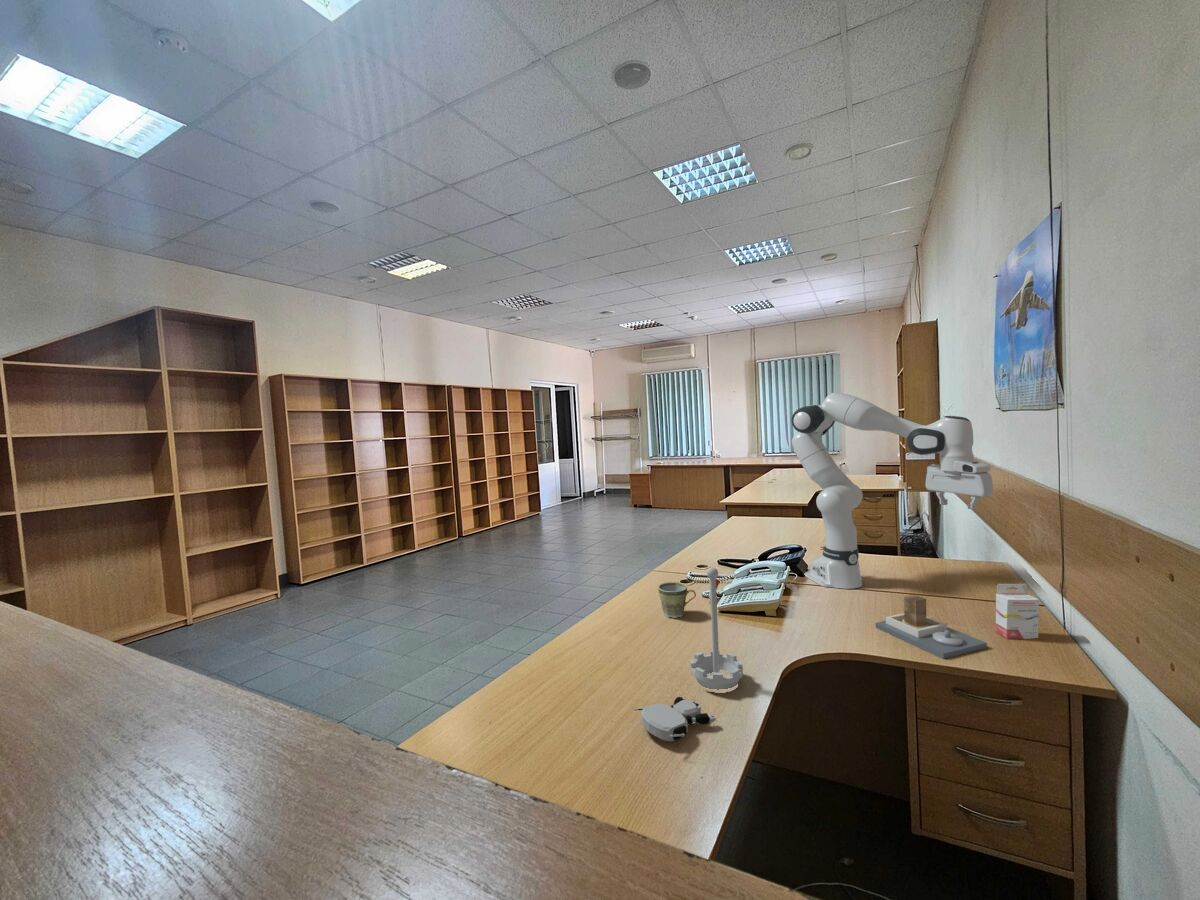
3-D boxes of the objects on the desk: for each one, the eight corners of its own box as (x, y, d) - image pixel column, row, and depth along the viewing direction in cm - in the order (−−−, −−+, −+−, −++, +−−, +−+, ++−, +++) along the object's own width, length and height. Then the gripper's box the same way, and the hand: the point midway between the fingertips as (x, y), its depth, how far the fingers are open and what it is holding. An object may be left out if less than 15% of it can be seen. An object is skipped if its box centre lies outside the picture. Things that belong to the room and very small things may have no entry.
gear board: (875, 627, 153) (875, 614, 153) (915, 618, 158) (914, 605, 158) (943, 659, 132) (943, 643, 132) (986, 648, 137) (986, 632, 137)
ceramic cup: (656, 619, 169) (654, 590, 168) (663, 608, 178) (662, 581, 177) (693, 623, 164) (692, 593, 163) (699, 611, 173) (698, 583, 172)
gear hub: (896, 624, 151) (895, 595, 151) (913, 620, 153) (913, 592, 153) (917, 633, 144) (916, 603, 144) (935, 629, 147) (934, 599, 146)
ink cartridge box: (1007, 639, 141) (1007, 589, 140) (995, 632, 146) (994, 583, 145) (1039, 639, 140) (1039, 588, 139) (1026, 632, 145) (1026, 582, 144)
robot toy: (680, 707, 118) (631, 726, 110) (681, 688, 118) (631, 706, 110) (719, 732, 108) (668, 755, 100) (719, 711, 108) (668, 733, 100)
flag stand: (734, 701, 118) (729, 578, 116) (683, 688, 125) (678, 571, 123) (749, 675, 129) (745, 563, 127) (701, 665, 136) (697, 558, 134)
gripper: (920, 463, 171) (921, 503, 172) (981, 468, 151) (981, 512, 152) (934, 462, 173) (934, 501, 173) (996, 466, 153) (996, 510, 154)
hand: (957, 506), depth 163 cm, fingers open, 8 cm apart
